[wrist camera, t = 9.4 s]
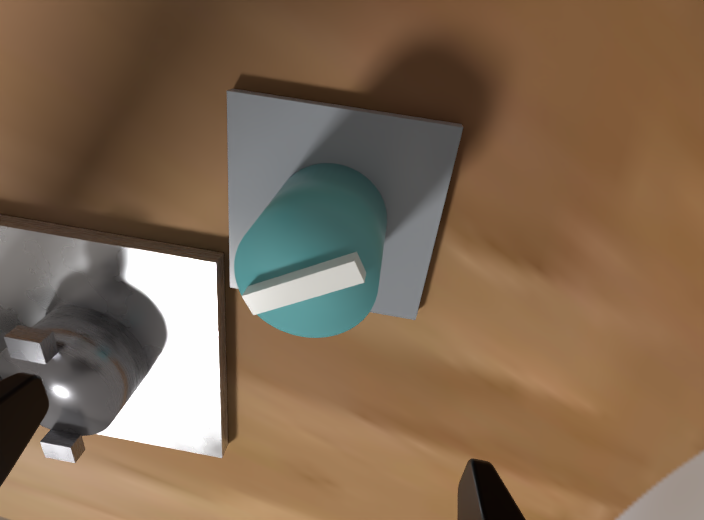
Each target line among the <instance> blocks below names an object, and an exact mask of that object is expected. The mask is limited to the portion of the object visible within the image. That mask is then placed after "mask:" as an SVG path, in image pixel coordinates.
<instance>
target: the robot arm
mask: <svg viewBox="0 0 704 520" xmlns="http://www.w3.org/2000/svg"><path fill="white" fill-rule="evenodd" d="M48 409H49V399H48V396H47V392H46V389H45V386H44V383H43V380H42V378H41V377H40V376H38V375H35V374H29V373H24V372H20V373H16V374H13V375H11V376H9V377H7V378H4V379H2V380H0V486H1V485H2V484H3V482H4V481H5V479H6V478H7V476H8V475H9V473H10V472H11V470H12V468H13V467H14V465H15V463H16V462H17V460H18V459H19V457H20V455H21V454H22V452H23V451H24V449H25V447H26V446H27V444H28V443H29V441H30V439H31V438H32V436H33V435H34V433H35V431H36V430H37V428H38V427H39V425H40V423H41V422H42V420H43V419H44V417H45V415H46V414H47V411H48ZM458 520H525V518H524V516H523V515H522V513H521V511H520V510H519V508H518V506H517V505H516V503H515V501H514V500H513V498H512V496H511V495H510V493H509V491H508V490H507V488H506V486H505V485H504V483H503V481H502V480H501V478H500V476H499V475H498V473H497V471H496V470H495V468H494V467H493V465H492V464H491V463H490V462H488V461H483V460H478V459H470V460H469V461H468V463H467V465H466V468H465V470H464V472H463V475H462V477H461V480H460V482H459V487H458Z"/></svg>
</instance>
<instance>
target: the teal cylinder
mask: <svg viewBox="0 0 704 520" xmlns="http://www.w3.org/2000/svg"><path fill="white" fill-rule="evenodd" d="M386 227H387V212H386V207H385V203H384V200H383V198H382V196H381V194H380V192H379V191H378V189H377V188H376V187H375V185H374V184H373V183H372V182H371V181H370V180H369V179H368V178H367V177H365V176H364V175H363V174H361V173H360V172H358V171H356V170H354V169H352V168H350V167H347V166H344V165H340V164H334V163H320V164H314V165H311V166H308V167H305V168H303V169H301V170H299V171H298V172H296V173H295V174H293V175H292V176H291V177H290V178H289V179H288V180H287V181H286V183H285V184H284V185H283V186H282V188H281V189H280V190H279V191H278V193H277V194H276V195H275V197H274V198H273V199H272V200H271V202H270V203H269V204H268V206H267V207H266V208H265V210H264V211H263V212H262V213H261V215H260V216H259V217H258V219H257V220H256V221H255V222H254V224H253V225H252V226H251V228H250V229H249V230H248V232H247V233H246V234H245V235H244V237H243V238H242V240H241V242H240V243H239V246H238V248H237V251H236V255H235V260H234V272H235V279H236V283H237V286H238V288H239V291H240V293H241V295H242V297H243V299H244V301H245V302H246V304H247V305H248V307H249V309H250V310H251V312H252V314H253V315H256V314H257V315H258V316H259V317H260V318H261V319H263V320H264V321H265V322H267V323H268V324H270V325H272V326H273V327H275V328H277V329H279V330H281V331H284V332H287V333H290V334H293V335H297V336H302V337H311V338H320V337H329V336H334V335H337V334H340V333H343V332H345V331H347V330H350V329H351V328H353V327H354V326H356V325H357V324H359V323H360V322H361V321H362V320H363V319H364V318H365V317H366V316H367V315H368V313H369V312H370V310H371V309H372V307H373V305H374V303H375V300H376V297H377V293H378V287H379V280H380V272H381V265H382V257H383V250H384V242H385V235H386Z"/></svg>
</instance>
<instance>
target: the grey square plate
mask: <svg viewBox="0 0 704 520" xmlns="http://www.w3.org/2000/svg"><path fill="white" fill-rule="evenodd" d="M20 372H24V373H29V374H35V375H38V376H40V377H41V378H42V380H43V383H44V386H45V389H46V392H47V396H48V399H49V409H48V411H47V414H46V415H45V417H44V419H43V420H42V422H41V423H40V425H42V426H44V427H46V428H48V429H51V430H50V431H49V432H48V433H47V434H46V436H45V437H44V438H43V439H42V440H41V441H40V443H41V446H42V449H43V452H44V455H45V457H47V458H52V459H57V460H63V461H68V462H73V463H76V461H77V460H78V459H79V457H80V456H81V455H82V453H83V452H84V451H85V447H84V443H83V439H82V436H85V435H93V434H100V435H105V436H110V437H115V438H121V439H126V440H131V441H136V442H141V443H147V444H152V445H157V446H162V447H167V448H172V449H178V450H183V451H188V452H193V453H198V454H203V455H209V456H214V457H219V458H223V455H224V453H225V451H226V448H227V446H228V414H227V370H226V326H225V281H224V253H222V252H217V251H211V250H205V249H199V248H193V247H188V246H182V245H176V244H170V243H164V242H159V241H153V240H147V239H141V238H135V237H129V236H124V235H118V234H112V233H106V232H100V231H95V230H89V229H83V228H77V227H71V226H66V225H60V224H54V223H48V222H42V221H37V220H31V219H25V218H19V217H13V216H7V215H2V214H0V380H2V379H4V378H7V377H9V376H11V375H13V374H16V373H20Z"/></svg>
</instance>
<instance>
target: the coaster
mask: <svg viewBox="0 0 704 520" xmlns="http://www.w3.org/2000/svg"><path fill="white" fill-rule="evenodd" d="M462 130H463V126H462V124H458V123H452V122H445V121H439V120H432V119H426V118H420V117H413V116H407V115H400V114H394V113H387V112H381V111H374V110H368V109H362V108H355V107H349V106H342V105H336V104H329V103H323V102H316V101H310V100H304V99H297V98H291V97H284V96H278V95H271V94H265V93H259V92H252V91H246V90H239V89H233V88H232V89H230V90H227V132H228V197H229V261H230V288H236V289H239V288H238V286H237V283H236V279H235V272H234V260H235V255H236V251H237V248H238V246H239V243H240V242H241V240H242V238H243V237H244V235H245V234H246V233H247V232H248V230H249V229H250V228H251V226H252V225H253V224H254V222H255V221H256V220H257V219H258V217H259V216H260V215H261V213H262V212H263V211H264V210H265V208H266V207H267V206H268V204H269V203H270V202H271V200H272V199H273V198H274V197H275V195H276V194H277V193H278V191H279V190H280V189H281V188H282V186H283V185H284V184H285V183H286V181H287V180H288V179H289V178H290V177H291V176H292V175H293V174H295V173H296V172H298V171H299V170H301V169H303V168H305V167H308V166H311V165H314V164H320V163H334V164H340V165H344V166H347V167H350V168H352V169H354V170H356V171H358V172H360V173H361V174H363V175H364V176H365V177H367V178H368V179H369V180H370V181H371V182H372V183H373V184H374V185H375V187H376V188H377V189H378V191H379V192H380V194H381V196H382V198H383V200H384V203H385V207H386V212H387V227H386V235H385V242H384V250H383V257H382V265H381V272H380V280H379V287H378V293H377V297H376V300H375V303H374V305H373V307H372V309H371V310H370V312H373V313H379V314H384V315H390V316H396V317H401V318H407V319H413V320H416V316H417V312H418V307H419V303H420V299H421V295H422V291H423V287H424V283H425V279H426V275H427V271H428V267H429V263H430V259H431V255H432V251H433V247H434V243H435V239H436V235H437V231H438V227H439V223H440V219H441V215H442V211H443V207H444V203H445V199H446V195H447V191H448V187H449V183H450V178H451V174H452V170H453V166H454V162H455V158H456V154H457V150H458V146H459V142H460V138H461V134H462Z"/></svg>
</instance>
